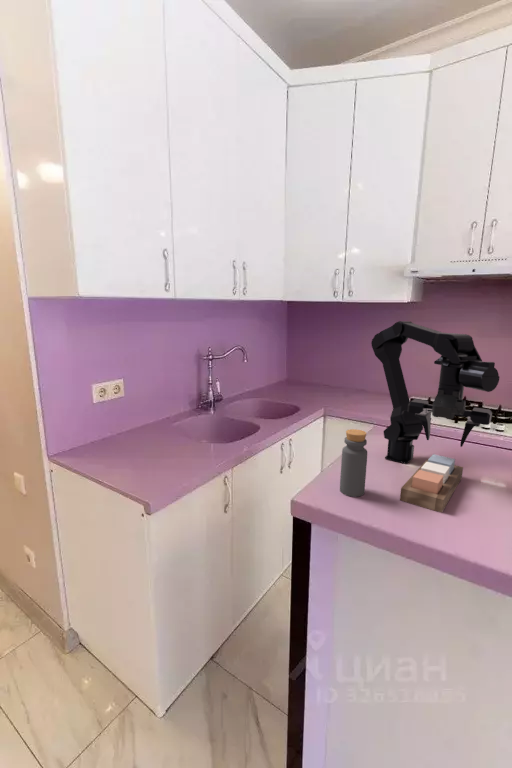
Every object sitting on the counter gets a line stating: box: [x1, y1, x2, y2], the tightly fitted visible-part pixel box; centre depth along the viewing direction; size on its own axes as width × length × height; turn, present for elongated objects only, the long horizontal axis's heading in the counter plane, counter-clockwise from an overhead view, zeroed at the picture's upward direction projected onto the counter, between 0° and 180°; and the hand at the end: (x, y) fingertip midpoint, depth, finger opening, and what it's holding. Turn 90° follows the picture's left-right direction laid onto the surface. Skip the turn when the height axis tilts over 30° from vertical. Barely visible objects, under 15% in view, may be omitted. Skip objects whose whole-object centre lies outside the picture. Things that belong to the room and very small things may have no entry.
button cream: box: [421, 462, 450, 484], centre depth 94 cm, size 5×5×4 cm
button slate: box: [427, 453, 456, 475], centre depth 100 cm, size 5×5×4 cm
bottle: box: [339, 428, 368, 498], centre depth 91 cm, size 6×6×15 cm
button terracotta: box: [412, 470, 443, 495], centre depth 89 cm, size 5×5×4 cm
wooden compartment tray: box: [399, 458, 464, 514], centre depth 94 cm, size 9×24×3 cm, turn 143°
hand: (444, 443), depth 99 cm, fingers open, 8 cm apart
